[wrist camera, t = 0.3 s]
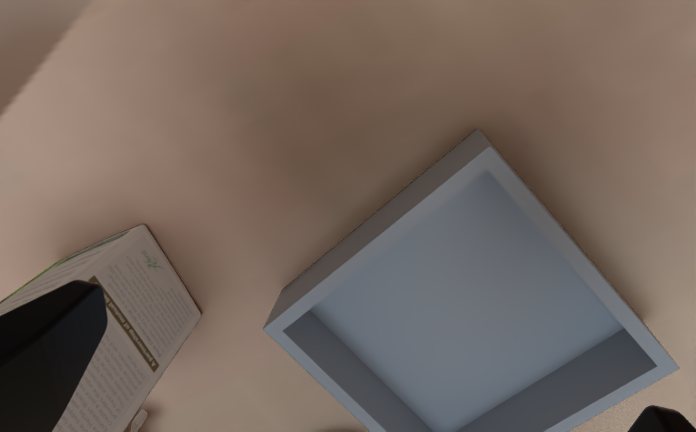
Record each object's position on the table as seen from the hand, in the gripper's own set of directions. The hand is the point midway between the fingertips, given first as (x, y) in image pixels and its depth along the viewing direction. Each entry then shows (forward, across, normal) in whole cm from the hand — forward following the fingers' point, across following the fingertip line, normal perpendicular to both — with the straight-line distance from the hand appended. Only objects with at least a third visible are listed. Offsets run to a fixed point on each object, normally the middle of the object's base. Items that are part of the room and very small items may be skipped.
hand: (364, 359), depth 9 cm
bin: (+13, -4, +10) cm, 17 cm away
